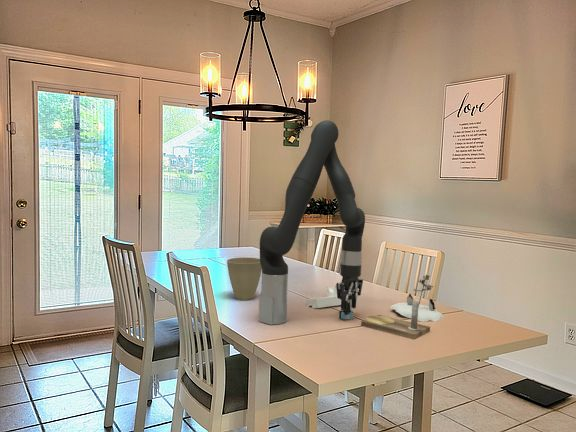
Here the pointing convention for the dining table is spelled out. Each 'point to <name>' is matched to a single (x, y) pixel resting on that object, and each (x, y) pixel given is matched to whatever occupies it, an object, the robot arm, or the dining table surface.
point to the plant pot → (244, 276)
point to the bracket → (325, 299)
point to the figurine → (419, 306)
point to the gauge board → (397, 324)
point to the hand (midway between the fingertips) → (348, 308)
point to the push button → (348, 313)
